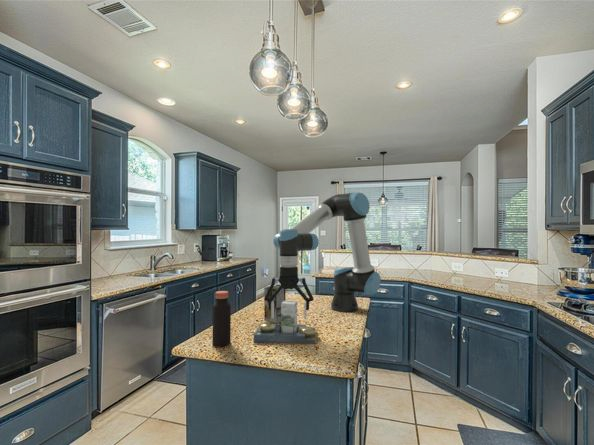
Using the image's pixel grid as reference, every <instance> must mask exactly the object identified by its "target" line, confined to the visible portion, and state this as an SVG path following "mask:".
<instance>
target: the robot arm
mask: <svg viewBox="0 0 594 445" xmlns="http://www.w3.org/2000/svg"><path fill="white" fill-rule="evenodd" d="M370 207H371V206H370V200H369V198H368V197H367V196H366V194H364V193H363V192H355V191H354V192H349V193H347V192H346V193H340V194H335V195H332V196H331V197H329V198H326V199H325V200H324V201H322V202H321V203H320V204H318V205H317V208H316V209H315V210H313V211H312V212H310V213H309V214H308V215H306V216H305V217H304V218H302V219H301V220H299V221H298V222H297V223H296V224H294V225H293V226H292V227H290V228H282V229H280V231H279V233H276V235H274V237H273V245H274V247H275V248H276V249H278V250H279V266H280V267H279V278H277V277H273V278H271V284H270V288H269V290H268V292H267V294H266V296H265V298H263V300H265V301H268V302H269V310H271V318H274V301H272V300H273V299H274V298H275V296H276V295H277V294H278V293H279V292H280V290H281V289H282V288H284V289H285V290H293V289H294V290H295V291H296V292H297V293H298V294H299V295H300V297H301V298H302V299H303V300H304V304H303V307H304V308H303V309H304V311H303V313H304V315H303V316H304V320H307V311H309V310H310V303H311V302H313V301H314V295H313V294H312V292H311V290H310V288H309V286H308V284H307V280H306V277H302V278H301V277H300V278H299V267H298V266H299V255H298V254H299V252H301V251H302V252H305V251H309V252H310V251H314V250H316V249H317V248H318V247H319V244H320V243H319V241H320V240H319V237H318V236H317V235H316V234H315V233H311V232H313V231H314V230H315V229H317V228H318V227H319V226H320V225H322V224H323V223H324V222H325V221H330V220H331V219H332V218H335V217H336V218H337V217H343V218H342V219H343V221H344V222H345V223H346V224H347V229H348V235H349V243H350V247H351V248H350V249H351V253H352V254H351V255H352V260H353V266H348V267H338V268H335V269H334V270H333V297H332V300H331V303H330V308H331V310H333V311H336V312H341V313H342V312H347V313H350V312H356V311H358V310H359V303H358V300H357V298H356V293H359V294H365V295H374V294H376V293H377V292H378V291H379V288H380V286H381V282H382V281H381V280H382V279H381V275H380V273H379V272H377V271H375V266H374V265H372V264H371V257H370V252H369V246H368V245H369V243H368V238H367V231H366V226H365V220H366V219H367V215H368V214H369V212H370ZM278 282H279V285H280V286H278V287H279V288H278V289H277V290H276V292H275V293H274V294H273V295H272V296H271V298H269V295H270V293H271V291H272V289H273V287H274V286H276V284H277V283H278ZM299 282H300V284H301V285H302V286H303V288H304V290H305V292H306V294H305V293H304V291H303V290H302V289H301V288H300V286H299V285H298V283H299Z"/></svg>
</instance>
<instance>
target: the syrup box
mask: <svg viewBox="0 0 594 445" xmlns="http://www.w3.org/2000/svg"><path fill="white" fill-rule="evenodd" d="M280 324H281V333H297V325H298V301H297V300H285V301H283V302H282V303H281V322H280Z"/></svg>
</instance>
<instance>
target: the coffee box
mask: <svg viewBox="0 0 594 445" xmlns="http://www.w3.org/2000/svg"><path fill="white" fill-rule="evenodd" d="M270 286H271V285H270ZM270 286H265V287H263V292H264V293H263V296H264V298H265V296H266V294H267V292H268V290H269V288H270ZM279 287H280V286H278V285H274V287H273V289H272V291H271V293H270V295H269V298H271V296H272V295H273V294H274V293H275V292H276V290H277V289H278V288H279ZM264 298H263V300H264ZM272 301H274V318H271V310H269V302H268V301H265V300H264V302H263V304H264V314H263V315H264V316H263V317H264V319H263V320H264V321H266V322H273V323H275V324H280V323H281V303H282V302H283V301H286V289H284V288H282V289H281V290H280V292H279V293H278V294H277V295H276V296H275V298H274V299H273V300H272Z"/></svg>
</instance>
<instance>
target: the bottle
mask: <svg viewBox="0 0 594 445" xmlns="http://www.w3.org/2000/svg"><path fill="white" fill-rule="evenodd" d="M214 294H215V303H213V304H212V346H213V347H215V348H224V347H228V346H230V345H231V340H232V339H231V335H232V334H231V333H232V332H231V331H232V330H231V326H232V325H231V322H232V321H231V320H232V319H231V318H232V314H231V310H232V305H231V303H230V301H228V299H229V290H228V291H227V290H219V291H218V290H217V291H215V292H214Z"/></svg>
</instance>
